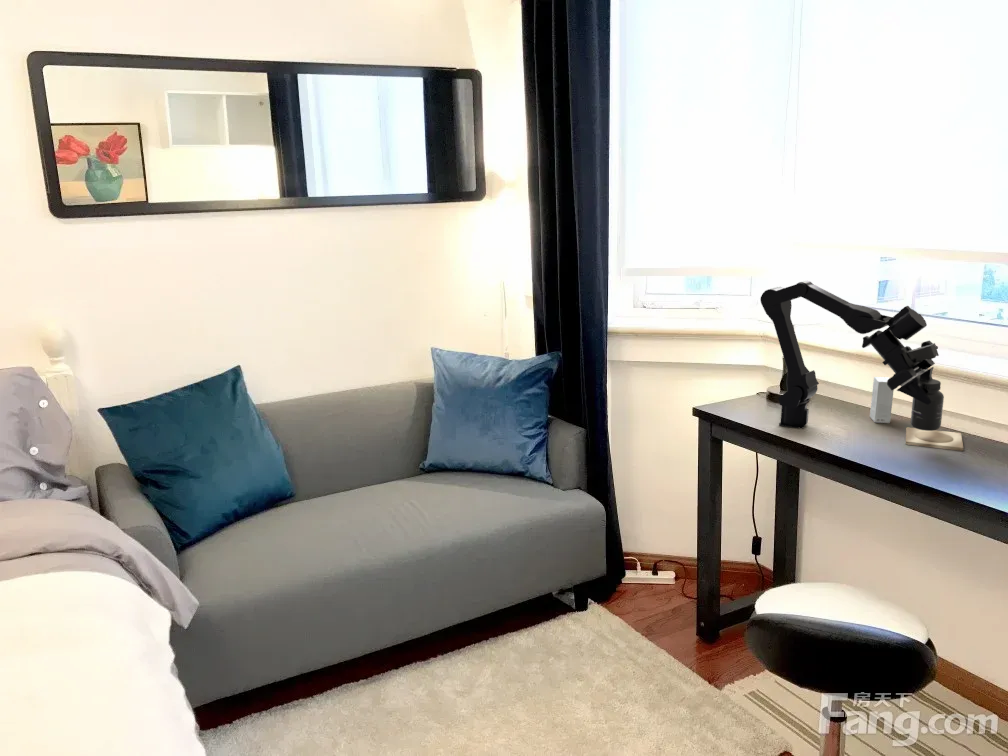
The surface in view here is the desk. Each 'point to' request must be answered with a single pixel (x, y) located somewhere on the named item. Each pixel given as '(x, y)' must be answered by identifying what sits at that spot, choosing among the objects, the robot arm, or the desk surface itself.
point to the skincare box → (881, 401)
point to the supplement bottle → (928, 407)
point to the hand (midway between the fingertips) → (933, 400)
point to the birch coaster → (934, 439)
